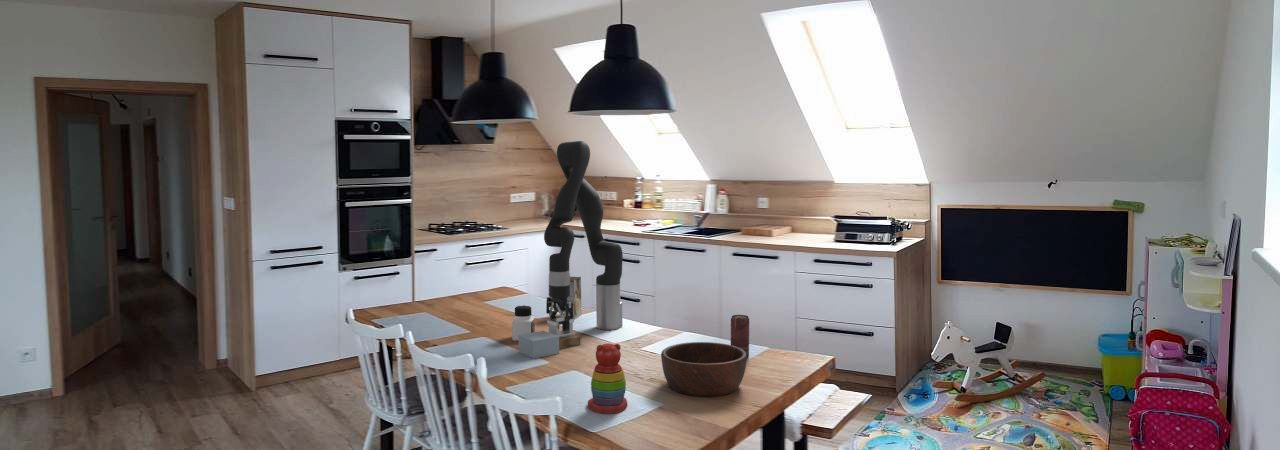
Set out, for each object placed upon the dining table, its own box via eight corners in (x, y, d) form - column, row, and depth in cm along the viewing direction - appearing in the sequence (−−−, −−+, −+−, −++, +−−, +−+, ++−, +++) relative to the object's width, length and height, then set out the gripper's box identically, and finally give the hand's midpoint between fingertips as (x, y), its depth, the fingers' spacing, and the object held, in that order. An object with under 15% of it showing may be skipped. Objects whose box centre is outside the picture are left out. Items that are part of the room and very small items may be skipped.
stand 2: (565, 339, 285) (565, 331, 285) (580, 344, 277) (580, 336, 277) (541, 343, 279) (541, 335, 279) (556, 349, 271) (556, 341, 271)
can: (727, 358, 259) (727, 317, 257) (734, 354, 264) (734, 313, 263) (744, 361, 256) (745, 319, 254) (751, 356, 262) (751, 315, 260)
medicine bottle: (531, 340, 283) (531, 308, 282) (512, 340, 284) (511, 308, 282) (534, 335, 291) (534, 304, 289) (515, 335, 291) (515, 304, 289)
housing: (566, 332, 282) (566, 316, 282) (574, 335, 278) (573, 319, 278) (547, 336, 277) (547, 319, 277) (554, 339, 273) (554, 322, 273)
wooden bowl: (693, 369, 247) (693, 337, 246) (762, 384, 232) (763, 350, 231) (643, 388, 228) (643, 354, 227) (715, 406, 213) (715, 369, 211)
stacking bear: (625, 400, 217) (625, 338, 215) (631, 413, 207) (630, 347, 205) (586, 403, 215) (586, 339, 214) (590, 415, 206) (589, 349, 204)
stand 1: (543, 347, 274) (543, 330, 273) (559, 353, 266) (559, 336, 265) (518, 352, 268) (518, 335, 267) (533, 358, 260) (533, 340, 259)
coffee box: (567, 314, 327) (566, 276, 326) (581, 314, 326) (581, 276, 324) (559, 318, 318) (559, 279, 317) (574, 319, 317) (574, 280, 315)
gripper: (579, 285, 273) (579, 330, 274) (557, 279, 284) (558, 323, 285) (561, 287, 268) (561, 333, 270) (539, 281, 279) (540, 326, 281)
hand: (559, 328), depth 277 cm, fingers open, 8 cm apart
